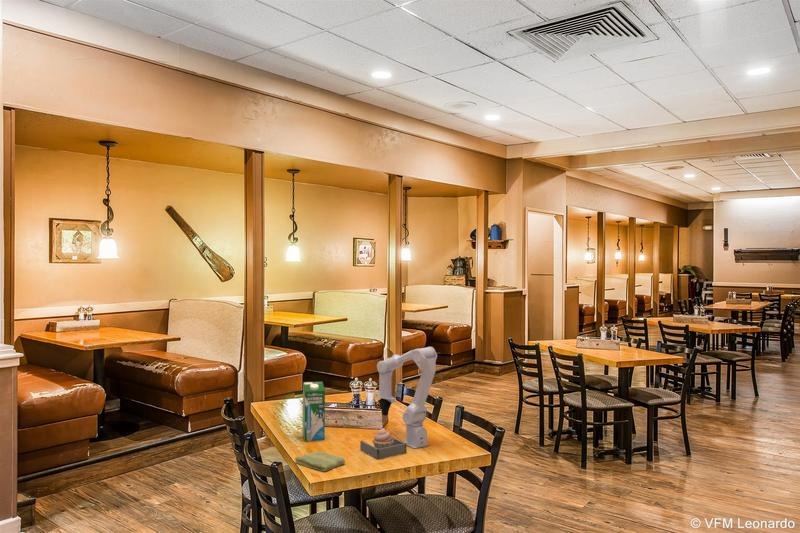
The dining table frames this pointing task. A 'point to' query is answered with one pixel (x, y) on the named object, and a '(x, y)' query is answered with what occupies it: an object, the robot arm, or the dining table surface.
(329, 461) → the washcloth
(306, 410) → the milk carton
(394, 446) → the box
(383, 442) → the cupcake
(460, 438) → the dining table surface
